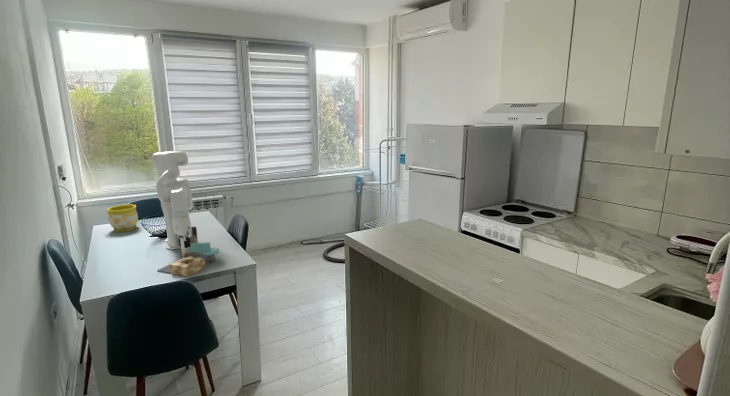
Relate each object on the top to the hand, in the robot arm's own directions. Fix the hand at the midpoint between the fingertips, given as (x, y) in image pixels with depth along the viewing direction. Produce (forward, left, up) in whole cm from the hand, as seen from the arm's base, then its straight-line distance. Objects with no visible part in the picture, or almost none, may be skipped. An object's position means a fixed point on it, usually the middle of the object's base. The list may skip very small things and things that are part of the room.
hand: (185, 246), depth 197 cm
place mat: (-10, -2, -14) cm, 17 cm away
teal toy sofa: (+1, +12, -14) cm, 18 cm away
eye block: (+1, 0, -14) cm, 14 cm away
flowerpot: (-99, +41, -14) cm, 108 cm away
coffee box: (-15, +18, -14) cm, 27 cm away
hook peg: (0, 0, -6) cm, 6 cm away
